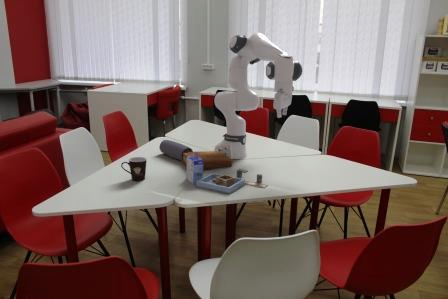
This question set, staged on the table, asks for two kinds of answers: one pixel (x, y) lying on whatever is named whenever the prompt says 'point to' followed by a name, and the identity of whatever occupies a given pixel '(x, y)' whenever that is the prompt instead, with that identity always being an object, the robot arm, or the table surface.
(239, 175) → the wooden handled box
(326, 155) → the table surface
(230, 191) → the tray
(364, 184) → the table surface
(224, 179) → the wooden mooncake mold
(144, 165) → the coffee mug
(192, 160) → the ink cartridge box
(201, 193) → the table surface
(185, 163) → the diary
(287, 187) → the table surface
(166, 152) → the bluetooth speaker
